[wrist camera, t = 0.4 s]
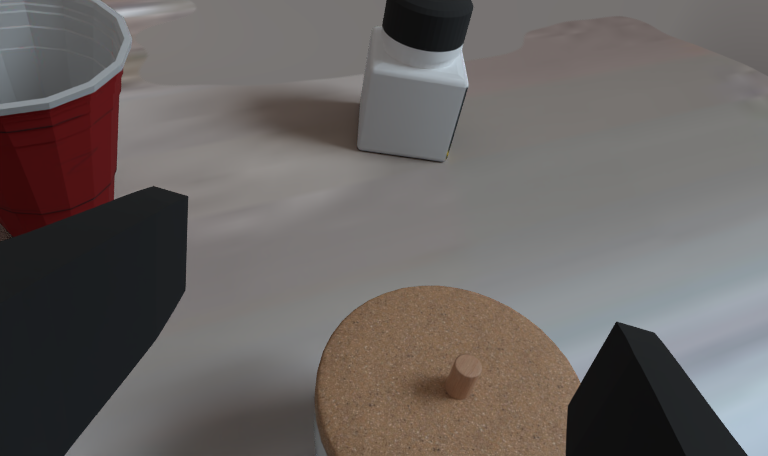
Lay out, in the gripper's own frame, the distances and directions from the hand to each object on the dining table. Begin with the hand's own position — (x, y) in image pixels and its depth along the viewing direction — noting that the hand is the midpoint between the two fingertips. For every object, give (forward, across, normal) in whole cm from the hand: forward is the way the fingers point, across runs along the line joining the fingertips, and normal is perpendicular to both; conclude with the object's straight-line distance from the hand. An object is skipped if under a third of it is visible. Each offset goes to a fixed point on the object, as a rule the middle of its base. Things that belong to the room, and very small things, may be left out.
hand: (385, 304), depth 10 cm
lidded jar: (+10, -3, +18) cm, 21 cm away
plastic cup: (+19, +21, +17) cm, 33 cm away
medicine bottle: (+38, +3, +14) cm, 40 cm away
